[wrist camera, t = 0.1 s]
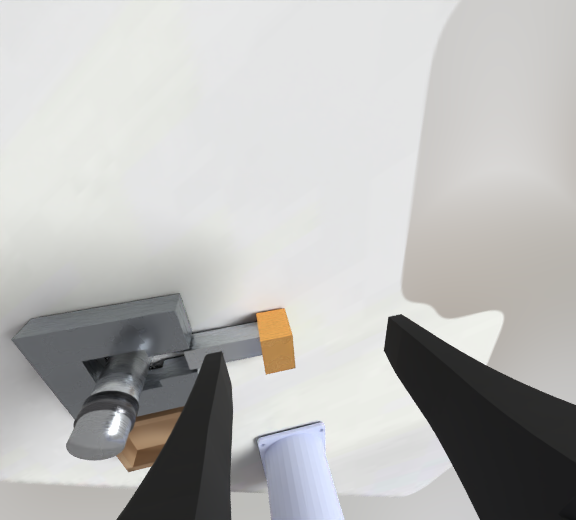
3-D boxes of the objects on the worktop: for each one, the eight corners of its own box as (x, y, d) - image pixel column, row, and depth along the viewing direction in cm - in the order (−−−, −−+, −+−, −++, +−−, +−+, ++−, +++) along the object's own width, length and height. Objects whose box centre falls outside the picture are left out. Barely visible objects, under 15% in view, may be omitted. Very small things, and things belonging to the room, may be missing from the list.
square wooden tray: (214, 429, 28) (213, 450, 27) (135, 448, 27) (128, 472, 26) (199, 386, 25) (197, 408, 23) (107, 406, 24) (97, 430, 22)
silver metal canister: (160, 363, 23) (136, 453, 17) (119, 372, 22) (78, 467, 16) (147, 335, 21) (115, 422, 15) (102, 343, 21) (51, 437, 15)
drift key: (284, 308, 23) (292, 335, 20) (287, 339, 24) (295, 368, 22) (184, 326, 22) (177, 358, 19) (195, 358, 23) (190, 390, 21)
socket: (179, 293, 20) (175, 310, 18) (208, 380, 25) (207, 400, 23) (31, 318, 19) (11, 339, 17) (92, 406, 24) (82, 428, 22)
